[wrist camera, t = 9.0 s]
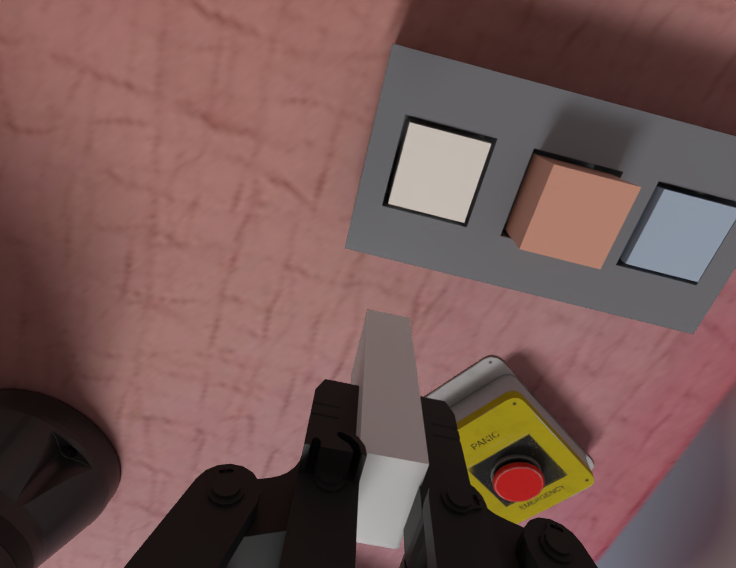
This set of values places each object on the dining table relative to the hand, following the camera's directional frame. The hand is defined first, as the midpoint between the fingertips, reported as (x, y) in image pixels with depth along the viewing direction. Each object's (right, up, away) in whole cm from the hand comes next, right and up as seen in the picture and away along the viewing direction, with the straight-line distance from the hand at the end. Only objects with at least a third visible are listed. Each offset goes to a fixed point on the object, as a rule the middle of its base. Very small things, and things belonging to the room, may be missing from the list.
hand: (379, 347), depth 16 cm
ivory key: (+4, +10, +12) cm, 16 cm away
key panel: (+10, +8, +13) cm, 19 cm away
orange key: (+10, +7, +10) cm, 16 cm away
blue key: (+17, +6, +12) cm, 22 cm away
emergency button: (+11, -11, +23) cm, 27 cm away
